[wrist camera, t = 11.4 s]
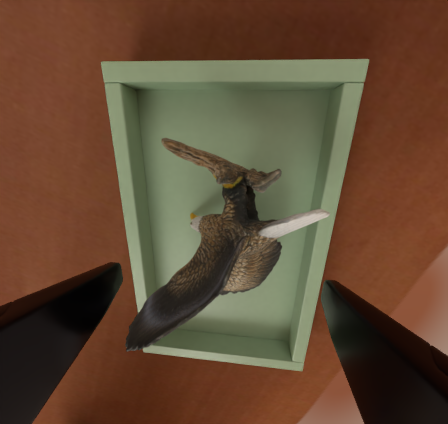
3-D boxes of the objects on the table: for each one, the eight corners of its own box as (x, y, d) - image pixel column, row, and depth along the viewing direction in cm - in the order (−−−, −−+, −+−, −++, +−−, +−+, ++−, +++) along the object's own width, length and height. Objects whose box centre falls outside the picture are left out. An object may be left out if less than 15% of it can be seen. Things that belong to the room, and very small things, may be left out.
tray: (125, 74, 11) (100, 61, 9) (346, 74, 10) (370, 58, 8) (154, 328, 17) (143, 352, 15) (295, 343, 16) (302, 371, 14)
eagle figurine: (143, 138, 10) (114, 300, 12) (197, 126, 4) (123, 463, 6) (259, 173, 14) (227, 290, 16) (372, 193, 8) (302, 380, 10)
